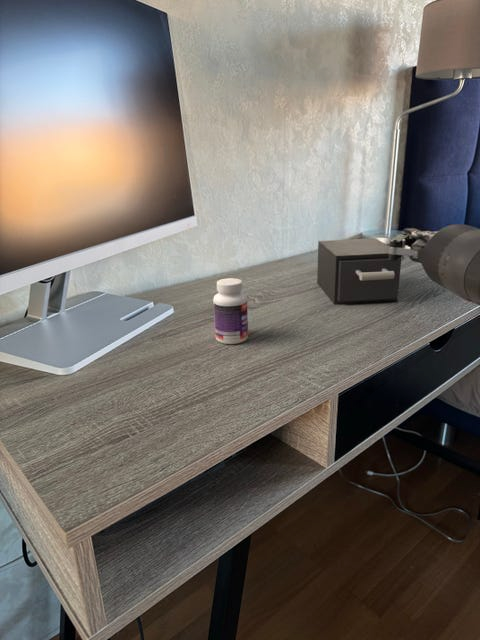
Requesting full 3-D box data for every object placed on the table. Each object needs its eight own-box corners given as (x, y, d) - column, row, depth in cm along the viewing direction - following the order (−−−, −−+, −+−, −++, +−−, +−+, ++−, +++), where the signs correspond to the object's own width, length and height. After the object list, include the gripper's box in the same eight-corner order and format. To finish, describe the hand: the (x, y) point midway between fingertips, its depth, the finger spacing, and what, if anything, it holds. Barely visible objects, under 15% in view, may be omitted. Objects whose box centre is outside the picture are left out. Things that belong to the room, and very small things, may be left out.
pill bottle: (249, 344, 71) (247, 285, 67) (216, 346, 70) (212, 287, 67) (246, 331, 76) (245, 275, 72) (215, 333, 75) (211, 277, 72)
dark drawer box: (406, 305, 82) (410, 264, 79) (345, 309, 81) (347, 267, 78) (373, 279, 98) (375, 244, 95) (322, 282, 98) (323, 247, 95)
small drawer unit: (397, 300, 87) (402, 252, 84) (334, 304, 87) (336, 256, 83) (372, 280, 101) (375, 238, 97) (317, 283, 100) (318, 241, 97)
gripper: (411, 299, 51) (362, 262, 67) (523, 292, 51) (447, 257, 67) (418, 233, 48) (365, 211, 64) (536, 227, 49) (454, 207, 65)
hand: (407, 235), depth 66 cm, fingers closed
